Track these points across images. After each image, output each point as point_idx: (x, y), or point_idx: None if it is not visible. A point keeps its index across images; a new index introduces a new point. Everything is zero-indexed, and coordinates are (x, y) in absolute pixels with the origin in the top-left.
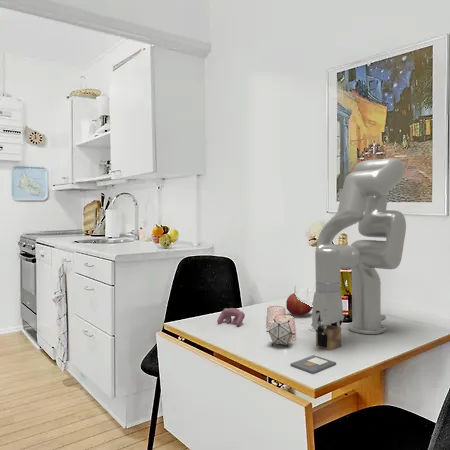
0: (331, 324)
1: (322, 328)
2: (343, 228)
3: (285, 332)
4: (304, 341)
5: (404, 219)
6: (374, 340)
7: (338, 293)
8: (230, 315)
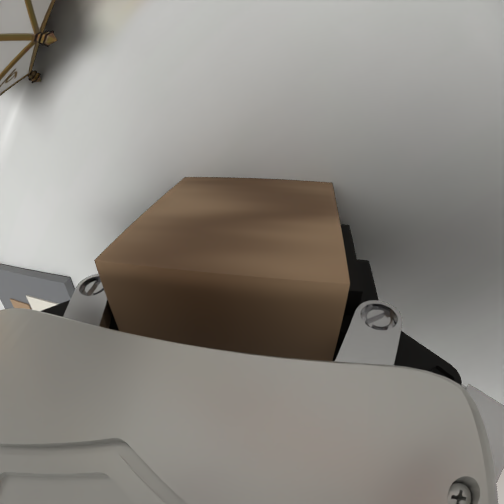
0: (340, 353)
1: (135, 332)
2: None
3: None
4: (201, 32)
5: None
6: (500, 355)
7: None
8: None
